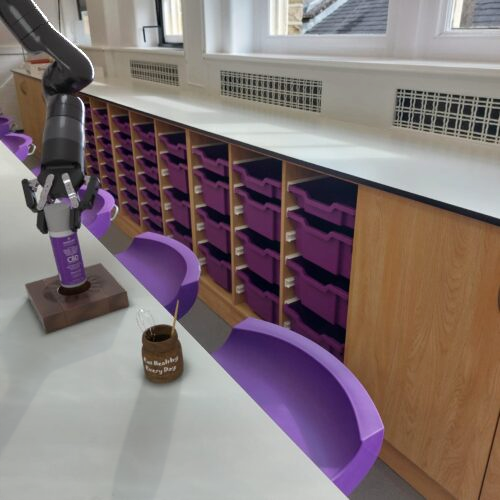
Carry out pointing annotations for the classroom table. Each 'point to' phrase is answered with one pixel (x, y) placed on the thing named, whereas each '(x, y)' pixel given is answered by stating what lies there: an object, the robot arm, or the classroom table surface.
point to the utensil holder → (161, 352)
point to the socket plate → (76, 298)
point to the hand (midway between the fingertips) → (58, 231)
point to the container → (65, 245)
